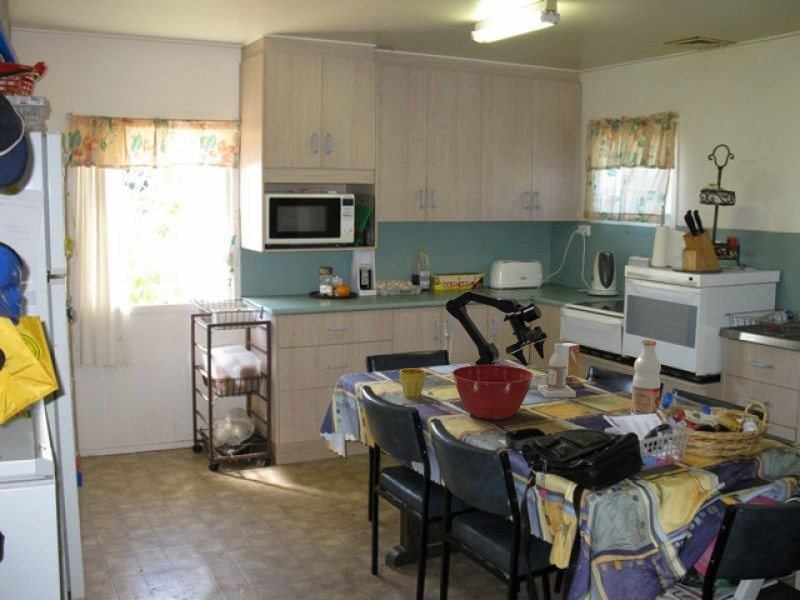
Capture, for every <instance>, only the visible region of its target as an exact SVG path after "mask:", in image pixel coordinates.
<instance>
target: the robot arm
mask: <svg viewBox="0 0 800 600" xmlns="http://www.w3.org/2000/svg"><path fill="white" fill-rule="evenodd" d="M471 302H474V303H478V304H483V305H484V306H489V307H493V308H495V309H497V311H500V312H502V313H504V314H505V315H504V319H503V322H509V324H510V326H511V328H512V331H513V332H512V335H513V336H515V339H516V340H517V342H516V343H513V344H511V345H509V346H507V347H505V352H506V355H510V356H513V357H515V359H517V360H518V361H519V362H520V364H521V363H522V365H524V366H525V367H527V366H528V365H529V364H528V362H527V358H525V355H524V349H523V348H524V347H526V346H527V345H530V344H532V343H534V344H533V347H534V349H535V351H536V352H537V354H538V356H539V357H540V358H541V360H543V359H545V355H544V354H545V353H544V344H545V342H546V341H547V340H546V339H547V338H548V335H547V333H546V332H545V331H543V330H542V327H541V326H540V325H537V326H535V327H534V328H533V329H532V328H531V327H530V325H528V326H527V324H531V323H533V322H534V321H535V322H536V321H537V320H538V319H539V320H540V319H541V318H542V312H541V310H540V308H539V307H538V305H536V303H535V302H532V303H529V305H526V306H524V305H523V304H520V303H519V302H518V299H516V298H512V297H497V296H492V295H489V294H485V293H481V292H478V291H475V290H468V291H465V292H464V293H463V294H461V295H459V296H457V297H456V298H453V299H450V300H447V302H446V304H445V309H446V311H447V313H448V314H449V315H451V316H452V317H453V318H454V319H456V320H458V322H459V323H460V325H461V326H462V327H463V329H464V330H465V332H466V334H467V335H468V336H469V338H470V339H471V340H472V342H473V343H474V345H475V346H476V348H477V352H478V356H479V358H478V359H477V360H476V361H475V365H496V362H498V360H499V359H500V352H499V349H498V348H497V345H496V344H495V343H494V342H491V343H489V342H488V341H487V339H485V337H484V336H483V334H482V333H481V332H480V330H479V329H478V327H477V325H476V324H475V323H474V322H473V320H472V319H471V317H470V316H469V313H468V309H467V307H466V306H467V305H468V304H470V303H471ZM519 312H520V313H519ZM517 313H518V314H517ZM526 323H527V324H526Z"/></svg>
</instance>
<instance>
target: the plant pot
mask: <svg viewBox="0 0 800 600" xmlns="http://www.w3.org/2000/svg"><path fill="white" fill-rule="evenodd" d="M399 380H400V381H401V387H402V393H403V396H404V397H406V398H414V399H415V398H419V397H421V395H422V393H423V392H422V391H423V387H424V384H425V381H426V380H427V371H426V370H425V369H423V368H422V369H421V368H409V367H408V368H402V369H400V370H399Z"/></svg>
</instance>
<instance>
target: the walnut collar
mask: <svg viewBox="0 0 800 600" xmlns="http://www.w3.org/2000/svg"><path fill="white" fill-rule="evenodd" d="M546 382H547V383H548V376H546ZM565 385H567V386H569V387H570V388H571V389H574V388H576V389H577V388H580V389H581V388H584V383H583V382H582V381H581V380H579V379H578V378H576V377H575V376H570V375H566V384H565Z"/></svg>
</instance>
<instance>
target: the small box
mask: <svg viewBox="0 0 800 600" xmlns="http://www.w3.org/2000/svg"><path fill="white" fill-rule="evenodd" d="M561 344H562V354H563V356H564V358H565V360H566V376H570V375H574V374H578V373H579V365H580V364H579V362H580V359H579V357H580V344H579V343H573V342H564V343H561Z"/></svg>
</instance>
